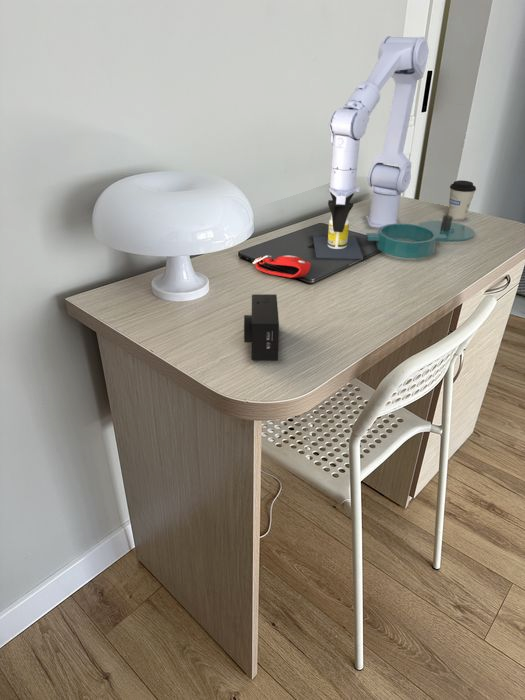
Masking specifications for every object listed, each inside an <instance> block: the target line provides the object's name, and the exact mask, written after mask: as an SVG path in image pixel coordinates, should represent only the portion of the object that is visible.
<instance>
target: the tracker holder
mask: <svg viewBox="0 0 525 700" xmlns="http://www.w3.org/2000/svg"><path fill="white" fill-rule="evenodd" d="M272 257H273V256H272V255H268V254H267V255H264V256H260V257H258V258H255V259H254V260H253V261H252V265H254V266H255V268H256V269H257V270H258V271H260V272H263V273H265V274H269V275H274V276H279V277H284V278H289V279H292V278H293V279H300V278H303V277H305V276H306V275H308V273H309V271H310V270H311V267H312V266H311V262H310V261H306V260H304V259H302V258H301V257H300V256H297V255H288V254H287V255H279V256H278V257H276V258H272ZM265 263H267V264H270V265H274V266H275V265H276V266H284V267H285V266H287V267H293V268H296V269H298V271H297V272H296V273H295V274H292V273H286V272H281V271H276V270H270V269H267V268H265V267H262V266H261V265H264V264H265Z"/></svg>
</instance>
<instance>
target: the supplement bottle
mask: <svg viewBox="0 0 525 700" xmlns="http://www.w3.org/2000/svg"><path fill="white" fill-rule="evenodd" d="M349 229H350V221H349V215H348V216H347V219H346V223H345V227H344V230H343V232H334V230H333V222H332V214H331V213H330V219H329V221H328V230H327V231H328V232H327V233H328V234H327V236H328V247H330V248H332V249H344V248H346V247H347V240H348V237H349Z"/></svg>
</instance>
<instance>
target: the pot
mask: <svg viewBox="0 0 525 700" xmlns="http://www.w3.org/2000/svg"><path fill="white" fill-rule="evenodd" d="M365 237H366V240H367V241H368V242H369V241H373V242H375V241H376V243H375V246H376V248H377V250H378V251H380V252H382V253H383V254H386V255H389V256H392V257H395V258H402V259H422V258H428V257H429V256H432V255H433V254H434V252H435V249H436V245H437V242H438V243H448V241H447V240H448V237H447V236H446V235H445V234H436V233H435V231H433V230H431V229H429V228H427V227H423V226H419V225H418V224H412V223H399V222H398V223H396V224H388V225H385V226H382V227H379V228H378V230H377V232H366V236H365ZM406 240H408V241H406Z"/></svg>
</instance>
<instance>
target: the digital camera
mask: <svg viewBox="0 0 525 700" xmlns="http://www.w3.org/2000/svg"><path fill="white" fill-rule="evenodd" d="M279 335H280V320H279V308H278V296H277V294H276V293H275V294H274V293H273V294H271V293H269V294H261V293H260V294H258V293H257V294H256V293H255V294H253V293H252V295H251V314H244V316H243V341H244V342H243V343H251V361H254V362H255V361H256V362H257V361H258V362H259V361H279V343H280V342H279V341H280V340H279V339H280V336H279Z"/></svg>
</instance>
